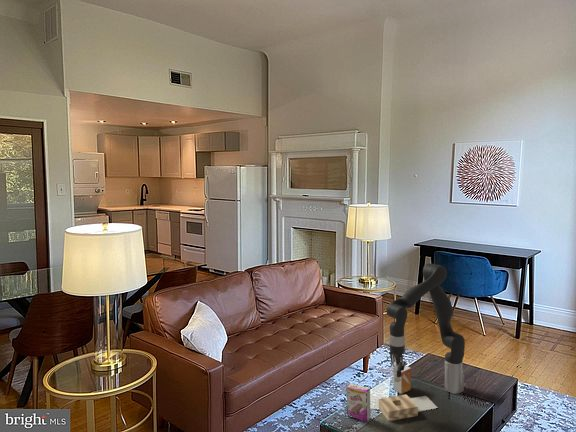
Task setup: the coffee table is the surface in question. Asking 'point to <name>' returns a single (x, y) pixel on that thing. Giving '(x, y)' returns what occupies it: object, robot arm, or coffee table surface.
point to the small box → (403, 381)
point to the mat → (424, 403)
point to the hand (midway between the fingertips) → (397, 374)
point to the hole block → (398, 407)
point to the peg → (396, 379)
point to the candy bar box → (358, 402)
